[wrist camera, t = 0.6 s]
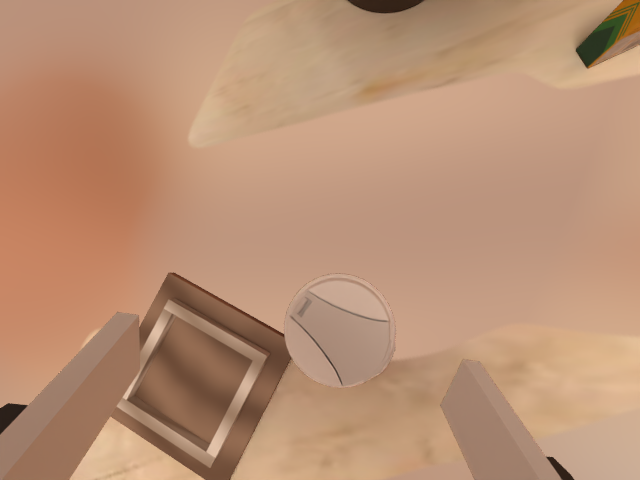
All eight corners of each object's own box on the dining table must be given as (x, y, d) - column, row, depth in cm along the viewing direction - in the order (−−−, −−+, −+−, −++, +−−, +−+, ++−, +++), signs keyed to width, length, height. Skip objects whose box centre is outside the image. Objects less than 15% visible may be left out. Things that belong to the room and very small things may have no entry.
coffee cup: (295, 315, 36) (257, 345, 22) (335, 259, 37) (324, 250, 22) (353, 359, 35) (354, 422, 20) (394, 301, 35) (424, 321, 21)
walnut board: (174, 272, 39) (162, 272, 36) (298, 342, 36) (294, 347, 34) (104, 402, 38) (87, 412, 35) (227, 483, 35) (217, 499, 33)
